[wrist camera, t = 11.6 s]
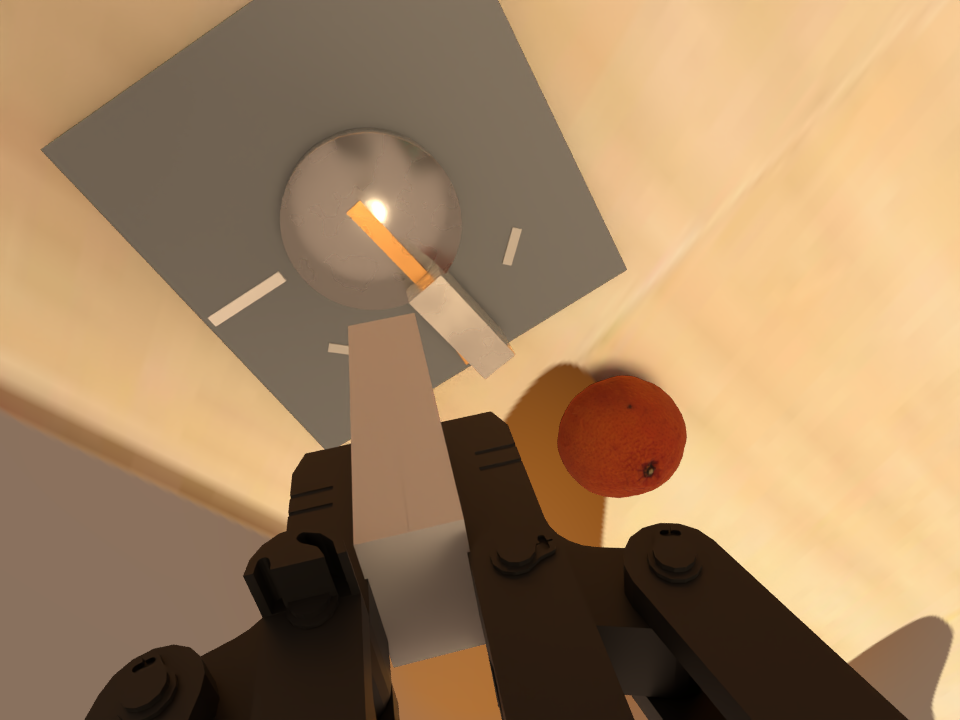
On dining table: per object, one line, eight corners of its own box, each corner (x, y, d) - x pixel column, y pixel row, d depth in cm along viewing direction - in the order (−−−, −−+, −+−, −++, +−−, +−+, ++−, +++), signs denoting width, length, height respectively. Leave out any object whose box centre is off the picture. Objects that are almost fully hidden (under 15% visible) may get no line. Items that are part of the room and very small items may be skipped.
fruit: (666, 355, 47) (722, 412, 40) (645, 452, 51) (692, 519, 44) (553, 359, 45) (591, 420, 38) (540, 459, 49) (572, 530, 42)
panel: (49, 145, 33) (39, 150, 32) (433, -124, 31) (436, -130, 30) (328, 442, 45) (328, 454, 44) (620, 263, 43) (627, 270, 41)
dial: (244, 211, 35) (233, 231, 32) (375, 87, 33) (378, 93, 30) (431, 385, 43) (438, 416, 39) (545, 290, 41) (564, 315, 38)
